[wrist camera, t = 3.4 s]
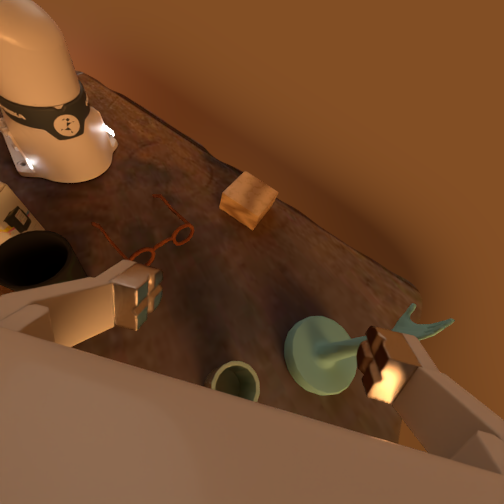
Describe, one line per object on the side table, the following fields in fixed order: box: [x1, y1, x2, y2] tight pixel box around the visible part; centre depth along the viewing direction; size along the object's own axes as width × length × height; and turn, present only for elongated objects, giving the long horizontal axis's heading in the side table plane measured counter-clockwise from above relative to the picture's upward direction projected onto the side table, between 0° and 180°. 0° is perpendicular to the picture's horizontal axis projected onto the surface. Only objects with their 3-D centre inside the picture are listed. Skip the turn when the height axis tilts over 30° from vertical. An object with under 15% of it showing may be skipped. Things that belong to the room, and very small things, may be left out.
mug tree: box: [284, 303, 455, 395], centre depth 33 cm, size 12×12×25 cm
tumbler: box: [204, 361, 260, 402], centre depth 33 cm, size 6×6×10 cm
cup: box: [0, 230, 88, 292], centre depth 33 cm, size 8×8×12 cm
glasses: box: [91, 194, 194, 266], centre depth 44 cm, size 13×13×5 cm
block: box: [219, 171, 278, 230], centre depth 53 cm, size 9×9×5 cm
